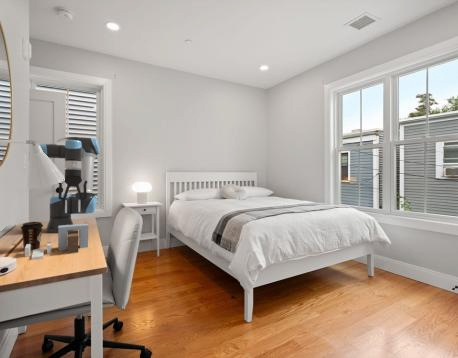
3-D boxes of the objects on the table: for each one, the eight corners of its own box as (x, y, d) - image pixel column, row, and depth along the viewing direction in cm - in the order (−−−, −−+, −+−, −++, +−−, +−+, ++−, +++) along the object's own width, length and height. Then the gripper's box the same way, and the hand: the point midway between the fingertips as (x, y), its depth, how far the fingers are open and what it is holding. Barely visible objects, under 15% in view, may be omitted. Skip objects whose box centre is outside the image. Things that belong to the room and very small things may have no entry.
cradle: (26, 252, 120) (26, 244, 120) (51, 249, 125) (51, 241, 125) (23, 260, 109) (23, 251, 109) (50, 257, 114) (50, 248, 114)
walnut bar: (67, 246, 131) (67, 231, 131) (77, 245, 134) (77, 230, 134) (67, 254, 119) (67, 237, 119) (78, 252, 122) (78, 236, 122)
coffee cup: (39, 245, 132) (39, 220, 131) (45, 248, 127) (46, 222, 126) (18, 249, 124) (18, 223, 124) (24, 252, 120) (24, 225, 119)
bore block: (58, 248, 128) (58, 225, 128) (87, 244, 135) (87, 223, 135) (58, 250, 124) (58, 227, 123) (88, 247, 131) (88, 225, 131)
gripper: (52, 168, 128) (51, 214, 129) (93, 169, 139) (92, 212, 139) (52, 168, 134) (51, 212, 135) (91, 169, 145) (91, 210, 145)
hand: (72, 212), depth 137 cm, fingers open, 5 cm apart
